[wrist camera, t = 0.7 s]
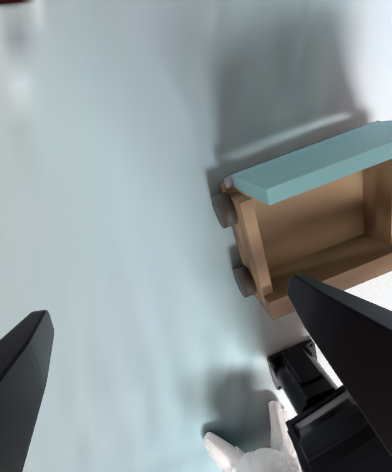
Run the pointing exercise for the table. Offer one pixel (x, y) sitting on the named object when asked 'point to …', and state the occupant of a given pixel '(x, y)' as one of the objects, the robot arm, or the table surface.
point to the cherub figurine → (263, 459)
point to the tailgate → (316, 164)
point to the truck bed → (311, 235)
